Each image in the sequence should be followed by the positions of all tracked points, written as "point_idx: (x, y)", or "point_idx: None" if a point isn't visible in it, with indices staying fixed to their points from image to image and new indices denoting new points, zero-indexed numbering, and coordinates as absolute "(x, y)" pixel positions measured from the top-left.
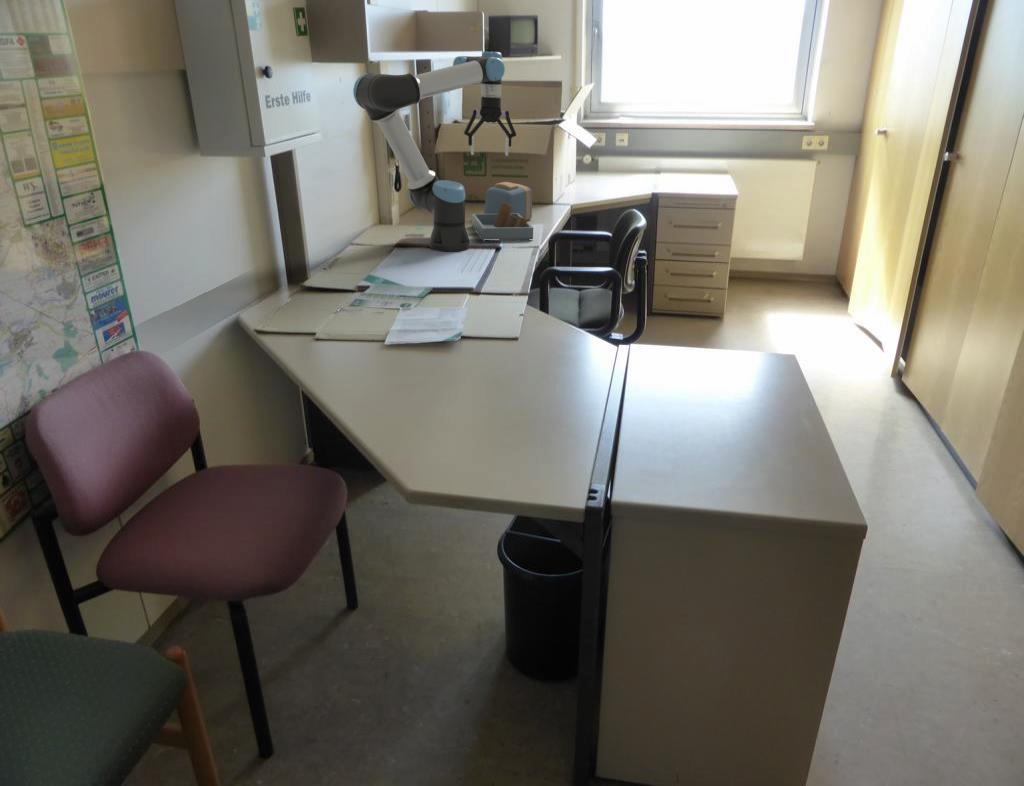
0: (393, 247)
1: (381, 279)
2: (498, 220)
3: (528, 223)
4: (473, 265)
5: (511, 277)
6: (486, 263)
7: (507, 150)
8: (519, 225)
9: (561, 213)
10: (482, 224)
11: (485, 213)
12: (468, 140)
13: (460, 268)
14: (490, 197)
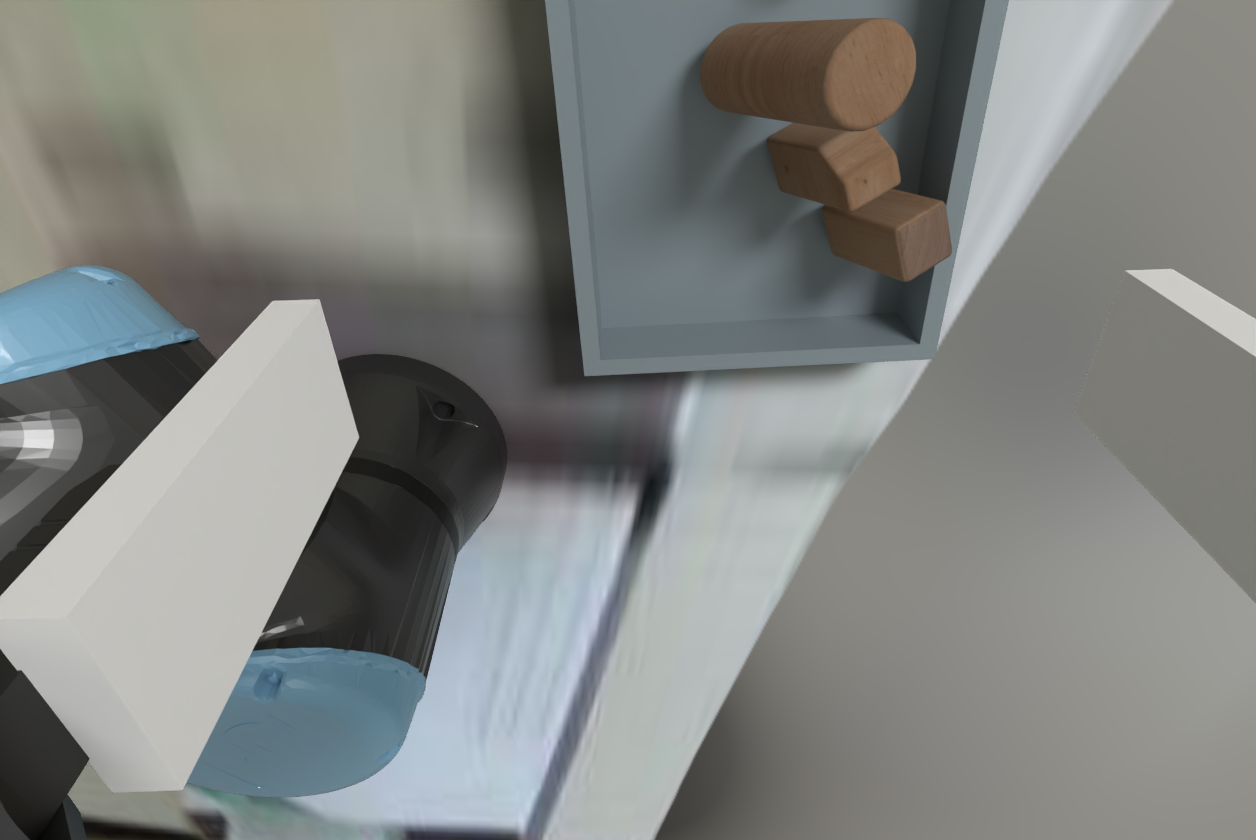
0: None
1: None
2: (742, 112)
3: (955, 230)
4: (522, 683)
5: (642, 777)
6: (574, 666)
7: (1164, 476)
8: (868, 267)
9: None
10: (590, 257)
11: None
12: (9, 582)
13: (475, 707)
14: None
